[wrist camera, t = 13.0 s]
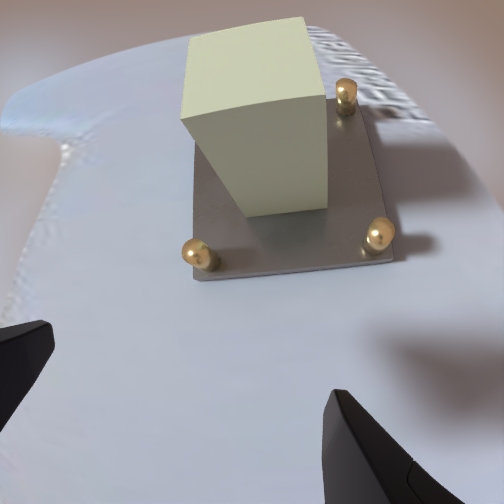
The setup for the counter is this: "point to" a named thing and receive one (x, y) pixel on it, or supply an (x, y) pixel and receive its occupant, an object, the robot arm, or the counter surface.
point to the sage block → (260, 115)
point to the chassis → (297, 213)
